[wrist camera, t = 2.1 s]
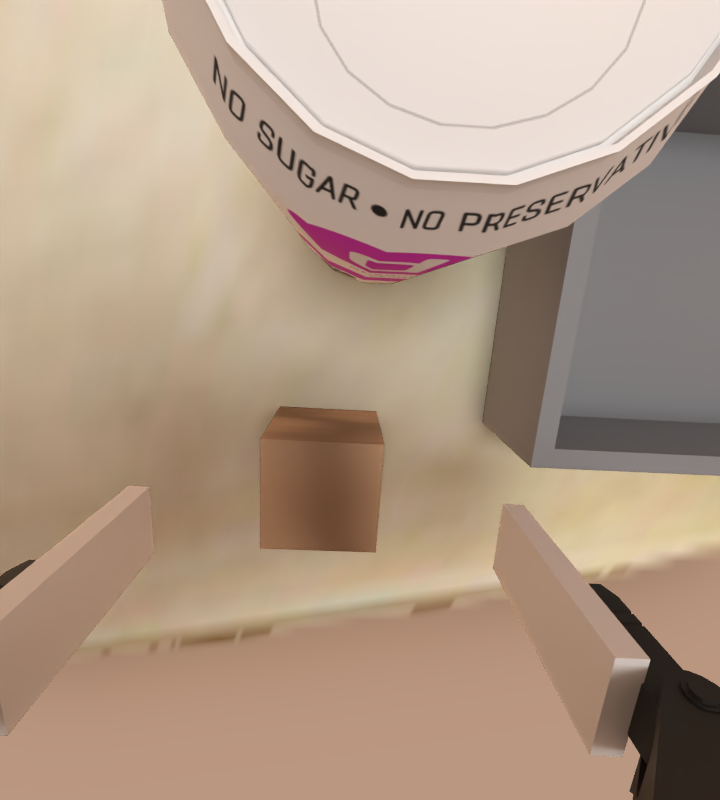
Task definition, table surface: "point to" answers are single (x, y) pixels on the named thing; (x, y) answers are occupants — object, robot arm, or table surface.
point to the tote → (620, 322)
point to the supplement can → (443, 113)
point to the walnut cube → (321, 480)
